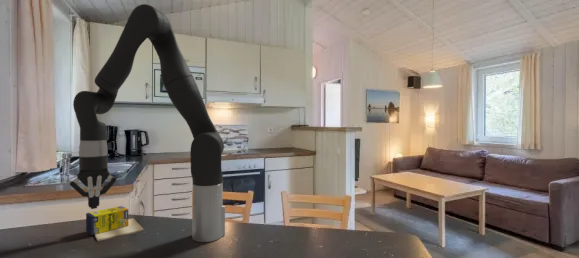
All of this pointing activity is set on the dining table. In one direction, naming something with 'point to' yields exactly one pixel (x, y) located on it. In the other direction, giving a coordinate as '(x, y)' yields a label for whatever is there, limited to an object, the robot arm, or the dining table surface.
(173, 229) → the dining table surface
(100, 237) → the birch board
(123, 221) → the supplement box
